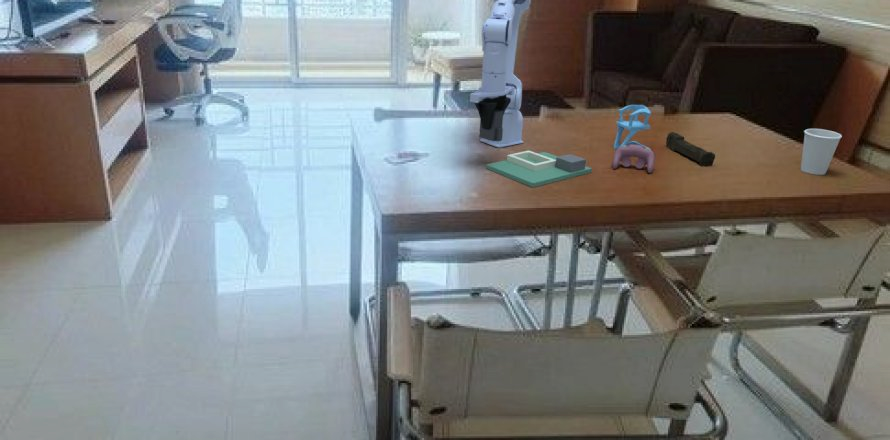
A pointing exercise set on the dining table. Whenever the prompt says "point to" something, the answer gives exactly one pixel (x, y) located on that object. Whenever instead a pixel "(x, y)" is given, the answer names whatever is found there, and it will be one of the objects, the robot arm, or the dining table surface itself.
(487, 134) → the dark grey upright block
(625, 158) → the video game controller
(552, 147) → the dining table surface
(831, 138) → the dixie cup
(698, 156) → the hand tool
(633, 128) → the chair
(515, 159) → the circuit board
